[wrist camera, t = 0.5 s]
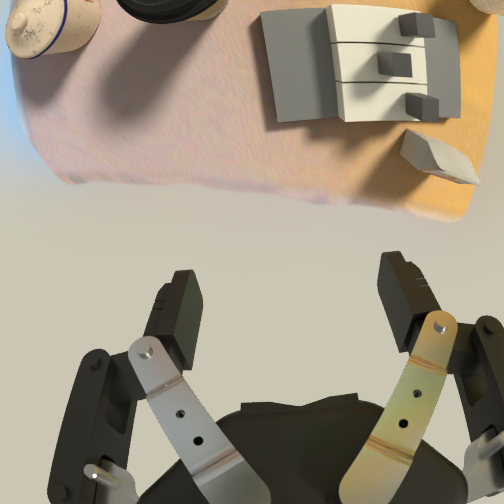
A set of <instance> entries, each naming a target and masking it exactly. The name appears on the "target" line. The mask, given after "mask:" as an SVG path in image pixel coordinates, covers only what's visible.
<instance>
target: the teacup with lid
mask: <svg viewBox="0 0 504 504" xmlns="http://www.w3.org/2000/svg"><path fill="white" fill-rule="evenodd" d="M100 15H101V11H100V6H99V3H98V1H97V0H18V2H17V3H16V4H15V6H14V8H13V9H12V11H11V13H10V15H9V18H8V21H7V25H6V41H7V45H8V48H9V49H10V51H11V52H12V53H13V54H14V55H15V56H17V57H19V58H22V59H33V58H36V57H38V56H40V55H46V54H53V53H61V52H70V51H74V50H76V49H78V48H80V47H82V46H83V45H84V44H86V43H87V42H88V41H89V40H90V39H91V37H92V36H93V35H94V33H95V31H96V29H97V27H98V25H99V21H100Z"/></svg>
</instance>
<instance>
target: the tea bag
mask: <svg viewBox="0 0 504 504" xmlns="http://www.w3.org/2000/svg"><path fill="white" fill-rule="evenodd" d="M399 154H400V155H401V156H402V157H403V158H405V159H406V160H407V161H408V162H409V163H411V164H412V165H413V166H414V167H415V168H416V169H417V170H419V171H422V172H425V173H429V174H432V175H435V176H438V177H441V178H444V179H447V180H450V181H453V182H455V183H458V184H474V185H478V184H481V182H480V181H479V179H478V177H477V175H476V173H475V170H474V168H473V166H472V164H471V161H470V159H469V158H468V157H467V156H466V155H464V154H463V153H461V152H459V151H458V150H456V149H455V148H453V147H452V146H450V145H449V144H447V143H445V142H443V141H440V140H438V139H435V138H432V137H430V136H427V135H424V134H422V133H419V132H416V131H413V130H410V129H406V132H405V136H404V139H403V143H402V146H401V149H400V152H399ZM477 183H478V184H477ZM478 186H479V185H478Z"/></svg>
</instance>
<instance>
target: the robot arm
mask: <svg viewBox="0 0 504 504" xmlns="http://www.w3.org/2000/svg"><path fill="white" fill-rule="evenodd" d="M377 287H378V292H379V296H380V298H381V301H382V304H383V306H384V309H385V312H386V315H387V318H388V320H389V323H390V326H391V329H392V332H393V335H394V338H395V341H396V344H397V347H398V350H399V353H402V352H409V356H410V358H409V360H408V362H407V364H406V366H405V369H404V371H403V373H402V375H401V378H400V380H399V382H398V384H397V386H396V388H395V390H394V392H393V394H392V396H391V398H390V399H389V402H388V403H387V405H386V407H385V409H384V408H383V407H381V406H379V405H377V404H374V403H371V402H367V401H362V400H358V394H357V393H352V394H345V395H338V396H331V397H327V398H324V399H321V400H318V401H315V402H312V403H309V404H306V405H303V406H293V405H286V404H280V403H274V402H252V403H241V410H240V411H236V412H233V413H231V414H228V415H226V416H224V417H223V418H221V419H219V420H218V421H217V422H214V420H213V419H212V418H211V416H210V415H209V413H208V412H207V411H206V409H205V408H204V407H203V405H202V404H201V402H200V401H199V399H198V398H197V397H196V395H195V394H194V392H193V391H192V389H191V388H190V386H189V385H188V384H187V382H186V381H185V379H184V378H183V376H182V373H183V370H192V366H193V360H194V354H195V348H196V343H197V337H198V332H199V327H200V321H201V316H202V311H203V298H202V294H201V291H200V288H199V285H198V282H197V279H196V276H195V273H194V271H193V270H180V271H175V273H174V276H173V279H172V282H171V283H165V284H164V285H163V287H162V288H161V289H160V290H159V291H158V294H157V296H156V299H155V303H154V305H153V308H152V311H151V314H150V317H149V319H148V322H147V325H146V328H145V332H144V335H143V337H142V338H139V339H138V340H136V341H135V342H134V343H133V344H132V345H131V346H130V348H129V351H126V352H123V353H119V354H116V355H112V356H110V355H109V354H108V353H107V352H106V351H105V350H103V349H95V350H92V351H90V352H89V353H87V354H86V355H85V356H84V357H83V359H82V361H81V364H80V366H79V369H78V372H77V375H76V378H75V381H74V384H73V388H72V391H71V394H70V397H69V401H68V404H67V407H66V411H65V414H64V418H63V421H62V425H61V429H60V433H59V437H58V441H57V445H56V449H55V454H54V458H53V462H52V467H51V472H50V477H49V483H48V488H47V495H48V498H49V501H50V503H51V504H467V503H469V502H471V501H474V500H477V499H479V498H482V497H484V496H487V497H491V496H494V495H496V494H499V493H501V492H503V491H504V328H503V326H502V324H501V323H500V322H499V321H498V320H497V319H496V318H494V317H492V316H487V315H486V316H482V317H480V318H479V319H478V320H477V322H476V324H465V323H457V322H456V320H455V318H454V317H453V316H452V315H451V314H449V313H447V312H445V311H442V310H441V308H440V306H439V304H438V302H437V300H436V298H435V296H434V294H433V292H432V290H431V288H430V287H429V286H428V283H427V281H426V279H424V276H423V274H422V272H421V270H420V269H419V268H418V267H417V266H416V265H415V264H413V263H412V262H406V261H405V259H404V257H403V256H402V254H401V252H399V251H393V252H383V253H382V255H381V261H380V268H379V274H378V280H377ZM447 374H454V378H455V381H456V384H457V388H458V391H459V395H460V398H461V402H462V406H463V410H464V414H465V418H466V422H467V427H468V431H469V435H470V440H471V444H470V445H469V446H468V448H467V450H466V452H465V456H464V468H463V471H461V470H460V469H459V468H458V467H457V466H456V465H454V464H453V463H452V462H450V461H449V460H448V459H447V458H445V457H444V456H443V455H442V454H440V453H439V452H438V451H436V450H435V449H434V448H433V447H431V446H430V445H429V444H428V443H426V442H425V441H424V440H423V439H422V437H423V435H424V433H425V431H426V428H427V425H428V424H429V421H430V419H431V417H432V414H433V412H434V409H435V407H436V404H437V401H438V399H439V396H440V393H441V391H442V388H443V385H444V382H445V379H446V376H447ZM142 399H147V401H148V403H149V405H150V407H151V409H152V411H153V412H154V414H155V416H156V418H157V420H158V422H159V423H160V425H161V427H162V429H163V430H164V432H165V433H166V435H167V437H168V439H169V440H170V442H171V444H172V445H173V447H174V449H175V450H176V452H177V454H178V455H179V457H180V459H179V460H178V461H177V462H176V463H175V464H174V465H173V466H172V467H171V468H170V469H169V470H167V471H166V472H165V473H164V474H163V475H162V476H161V477H160V478H159V479H158V480H157V481H156V482H155V483H154V484H153V485H152V486H150V487H149V488H148V489H147V490H146V491H145V492H144V493H143V494H142V495H141V496H140V498H139V497H138V496H137V493H136V490H135V481H134V479H133V477H132V475H131V474H130V473H129V472H128V471H126V469H127V462H128V455H129V448H130V442H131V435H132V429H133V423H134V417H135V412H136V406H137V401H138V400H142Z"/></svg>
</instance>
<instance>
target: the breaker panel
mask: <svg viewBox="0 0 504 504" xmlns="http://www.w3.org/2000/svg"><path fill="white" fill-rule="evenodd" d="M260 17H261V22H262V28H263V34H264V39H265V45H266V51H267V57H268V63H269V69H270V76H271V82H272V89H273V95H274V102H275V109H276V116H277V121H278V123H279V122H288V121H298V120H309V119H322V118H337V117H340V118H341V119H342V120H344V121H345V122H354V121H422V122H439V117H447V118H460V109H461V82H460V58H459V45H458V35H457V26H456V22H454V21H449V20H445V19H440V18H435V17H433V15H429V14H424V13H420V12H419V11H412V10H405V9H398V8H389V7H379V6H365V5H340V4H331V5H330V6H328V7H327V8H304V9H288V10H276V11H266V12H260ZM377 52H396V53H408V54H411V61H412V76H413V78H408V77H393V76H388V75H383V74H379V71H378V60H377Z"/></svg>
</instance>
